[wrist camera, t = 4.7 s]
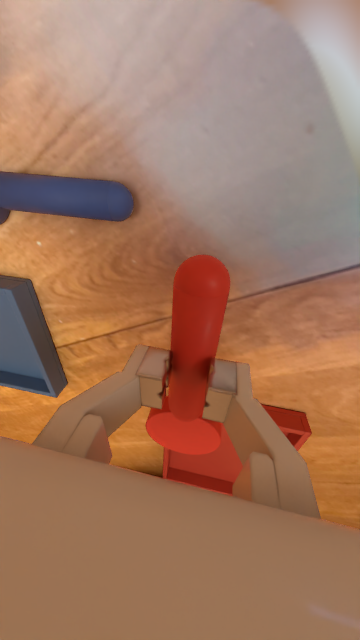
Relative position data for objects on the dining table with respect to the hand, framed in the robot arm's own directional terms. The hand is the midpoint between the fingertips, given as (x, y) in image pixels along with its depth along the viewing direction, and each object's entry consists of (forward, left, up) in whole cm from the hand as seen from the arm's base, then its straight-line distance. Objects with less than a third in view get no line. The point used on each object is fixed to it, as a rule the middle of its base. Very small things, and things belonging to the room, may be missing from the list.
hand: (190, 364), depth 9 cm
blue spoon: (+11, -5, -7) cm, 15 cm away
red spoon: (0, +2, -2) cm, 3 cm away
